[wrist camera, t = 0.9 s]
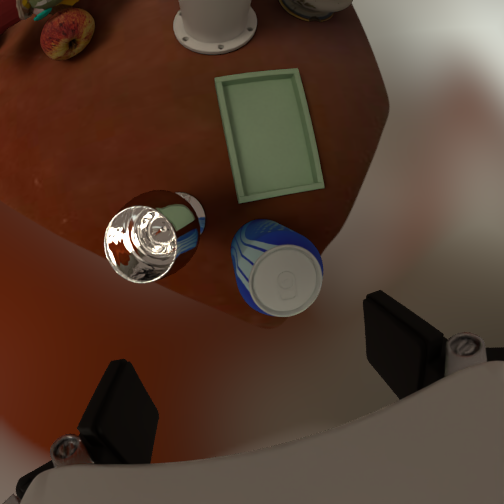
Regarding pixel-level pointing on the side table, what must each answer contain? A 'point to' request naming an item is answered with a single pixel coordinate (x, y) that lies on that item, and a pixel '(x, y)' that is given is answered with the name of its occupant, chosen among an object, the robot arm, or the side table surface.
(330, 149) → the side table surface
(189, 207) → the wineglass
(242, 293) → the beer can
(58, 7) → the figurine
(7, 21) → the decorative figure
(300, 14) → the apothecary jar
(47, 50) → the apple
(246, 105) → the tray
